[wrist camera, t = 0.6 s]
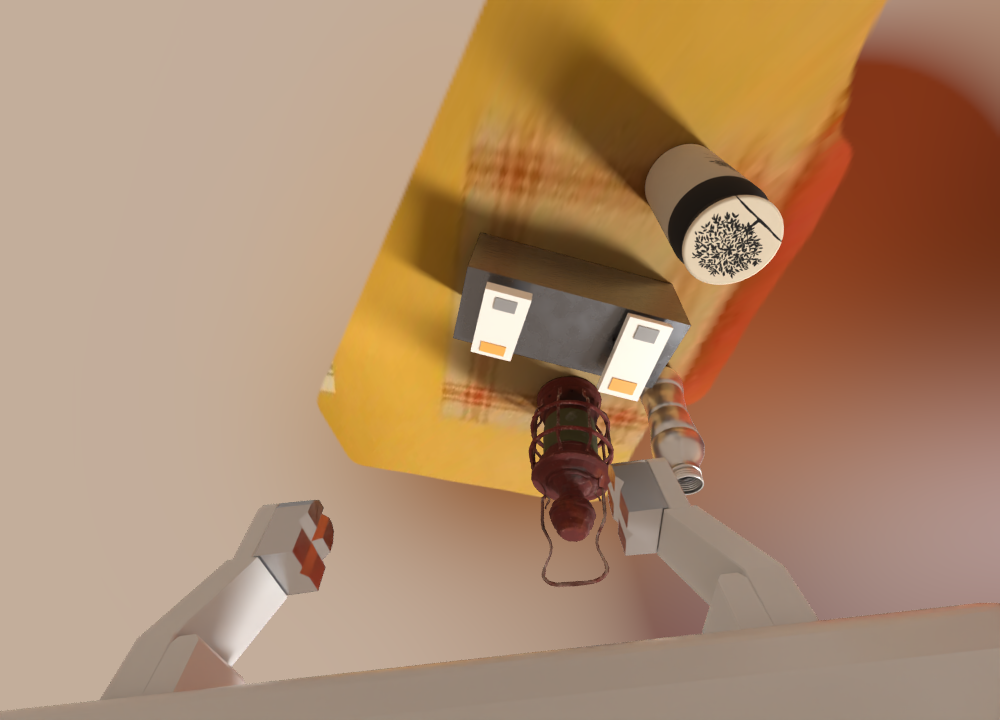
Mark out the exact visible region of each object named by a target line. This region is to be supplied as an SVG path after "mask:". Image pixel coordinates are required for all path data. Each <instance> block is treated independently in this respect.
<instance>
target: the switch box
mask: <svg viewBox="0 0 1000 720" xmlns="http://www.w3.org/2000/svg"><path fill="white" fill-rule="evenodd" d="M487 282H491V283H494V284H498V285H502V286H506V287H510V288H513V289H517V290H521V291H525V292H529V293H532V294H533V295H532V301H531V304H530V307H529V310H528V313H527V315H526V318H525V321H524V324H523V327H522V330H521V333H520V335H519V338H518V341H517V344H516V347H515V350H514V352H513V353H514V354H518V355H521V356H525V357H529V358H533V359H537V360H541V361H545V362H549V363H553V364H557V365H561V366H565V367H569V368H573V369H576V370H580V371H584V372H588V373H592V374H596V375H600V376H601V375H602V372H603V370H604V368H605V365H606V363H607V361H608V358H609V356H610V354H611V351H612V349H613V347H614V344H615V342H616V340H617V337H618V335H619V333H620V330H621V328H622V326H623V323H624V321H625V319H626V316H627V314H628V313H631V314H635V315H639V316H642V317H646V318H650V319H654V320H657V321H661V322H665V323H669V324H671V325H672V327H673V330H672V332H671V334H670V336H669V338H668V340H667V342H666V344H665V347H664V349H663V351H662V353H661V355H660V357H659V359H658V361H657V363H656V365H655V367H654V369H653V371H652V373H651V375H650V377H649V379H648V381H647V383H646V385H645V387H647V388H652V387H653V385H654V384H655V382H656V380H657V379H658V377H659V376H660V374H661V373H662V371H663V369H664V368H665V366H666V365H667V363H668V361H669V360H670V358H671V357H672V355H673V353H674V352H675V350H676V349H677V347H678V345H679V344H680V342H681V341H682V339H683V337H684V336H685V334H686V333H687V331H688V329H689V328H690V326H691V325H690V322H689V320H688V318H687V316H686V314H685V311H684V309H683V307H682V305H681V303H680V300H679V298H678V296H677V294H676V292H675V289H674V287H673V285H672V284H669V283H666V282H662V281H658V280H655V279H651V278H647V277H643V276H640V275H636V274H632V273H629V272H625V271H621V270H618V269H614V268H610V267H606V266H603V265H599V264H595V263H592V262H588V261H584V260H581V259H577V258H573V257H569V256H566V255H562V254H558V253H555V252H551V251H547V250H544V249H540V248H536V247H532V246H529V245H525V244H521V243H518V242H514V241H510V240H507V239H503V238H499V237H496V236H492V235H488V234H484V233H480V236H479V238H478V241H477V244H476V246H475V249H474V251H473V254H472V257H471V259H470V262H469V264H468V268H467V273H466V278H465V282H464V287H463V292H462V297H461V302H460V307H459V312H458V317H457V322H456V327H455V332H454V336H453V338H455V339H459V340H463V341H466V342H470V343H473V339H474V334H475V330H476V326H477V322H478V317H479V313H480V309H481V305H482V301H483V296H484V292H485V288H486V284H487Z"/></svg>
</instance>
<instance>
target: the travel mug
mask: <svg viewBox="0 0 1000 720" xmlns="http://www.w3.org/2000/svg"><path fill="white" fill-rule="evenodd" d="M645 195H646V199H647V201H648V203H649V205H650V207H651V209H652V211H653V213H654V215H655V216H656V218H657V220H658V222H659V224H660V226H661V228H662V230H663V231H664V233H665V235H666V237H667V239H668V241H669V243H670V245H671V247H672V248H673V250H674V252H675V254H676V256H677V257H678V258H679V260H680V261H681V262H683V263H684V264H685V266H686V268H687V270H688V271H689V272H690V273H691V274H692V275H693V276H694V277H695V278H697V279H699V280H700V281H703V282H706V283H709V284H715V285H724V284H731V283H735V282H739V281H742V280H744V279H746V278H749V277H750V276H752V275H754V274H755V273H757V272H758V271H760V270H761V269H762V268H763V267H765V266H766V265H767V264H768V263H769V262H770V260H771V259H772V258H773V257H774V255H775V254H776V252H777V250H778V248H779V246H780V244H781V241H782V238H783V232H784V225H783V219H782V216H781V214H780V212H779V210H778V209H777V208H776V207H775V205H773V204H772V203H771V202H770V201H769V200H768V198H767V197H766V195H765V194H764V193H763V192H762V190H760V189H759V188H758V187H757V186H755V185H754V184H753V183H751V182H750V181H749V180H748V179H746V178H745V177H744V176H742V175H741V174H740V173H739V172H737V171H736V170H735V169H733V168H732V167H731V166H729V165H728V164H727V163H726V162H724V161H723V160H722V159H720V158H719V157H718V156H717V155H715V154H714V153H713V152H711V151H710V150H709V149H707V148H706V147H704V146H701V145H697V144H684V145H680V146H677V147H674V148H672V149H670V150H668V151H667V152H665V153H664V154H663V155H661V156H660V157H659V158H658V159H657V160H656V162H655V163H654V164H653V166H652V167H651V169H650V171H649V173H648V175H647V178H646V183H645Z"/></svg>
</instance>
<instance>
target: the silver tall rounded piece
mask: <svg viewBox="0 0 1000 720" xmlns="http://www.w3.org/2000/svg"><path fill="white" fill-rule="evenodd" d="M639 398H640V400H641V402H642V404H643V405H644V408H645V411H646V413H647V416H648V421H649V427H650V436H651V451H652V456H653V458H654V459H655V458H663V457H664V458H665V459H666V460H667V461H668V463H669V465H670V467H671V469H672V471H673V472H674V474H675V476H676V478H677V480H678V482H679V484H680V486H681V488H682V490H683V492H684V494H685V495H690V494H694V493H696V492H698V491H700V490H701V489H702V488H703V486H704V482H703V478H702V472H701V469H700V467H699V465H700V464H701V462H702V460H703V457H704V442H703V440H702V438H701V436H700V435H699V433H698V431H697V429H696V428H695V426H694V424H693V423H692V420H691V418H690V416H689V414H688V411H687V409H686V405H685V400H684V396H683V384H682V380H681V379H680V377H679V376H678V374H677V373H676V371H674V370H673V369H672V368H669V367H666V366H665V368H664V369H663V371H662V373H661V374H660V376H659V377H658V379H657V380H656V382H655V384H654V385H653V387H652V388H647V387H644V389H643V391H642V393H641V395H640V397H639Z"/></svg>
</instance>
